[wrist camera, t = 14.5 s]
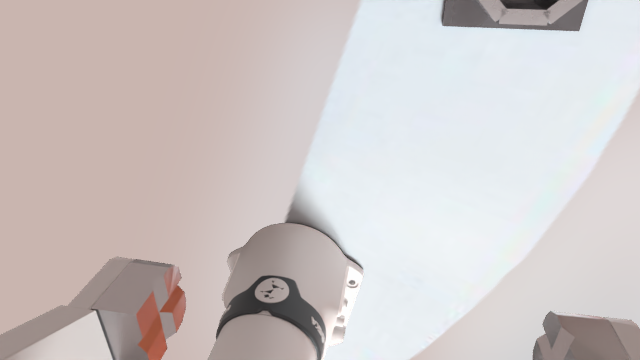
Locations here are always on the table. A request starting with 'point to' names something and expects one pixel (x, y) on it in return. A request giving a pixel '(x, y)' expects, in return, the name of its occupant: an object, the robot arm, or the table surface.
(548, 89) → the table surface
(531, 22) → the duct collar
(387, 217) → the table surface
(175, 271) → the robot arm
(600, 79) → the table surface
